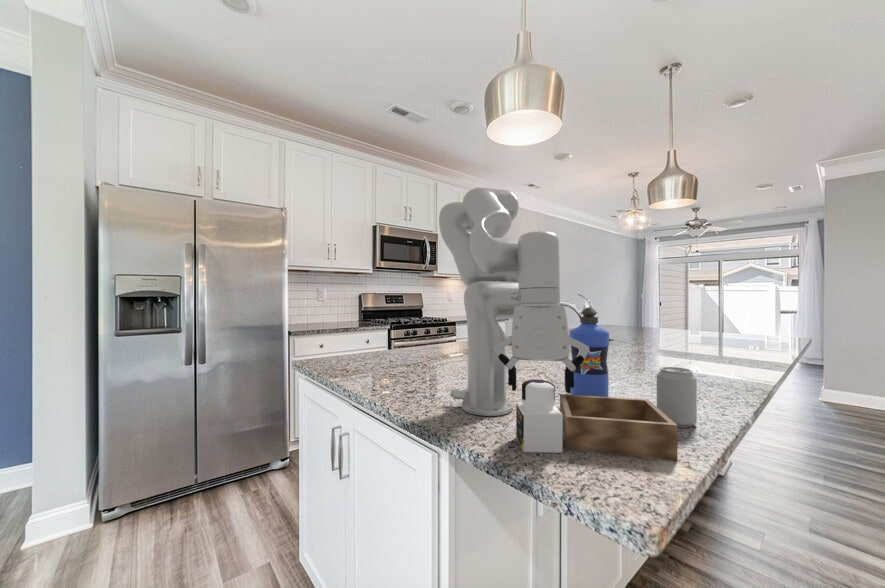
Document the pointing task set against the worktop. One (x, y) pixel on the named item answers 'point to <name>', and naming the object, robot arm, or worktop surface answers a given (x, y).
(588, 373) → the water bottle
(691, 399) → the can
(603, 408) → the crate
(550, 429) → the medicine bottle
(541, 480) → the worktop surface
